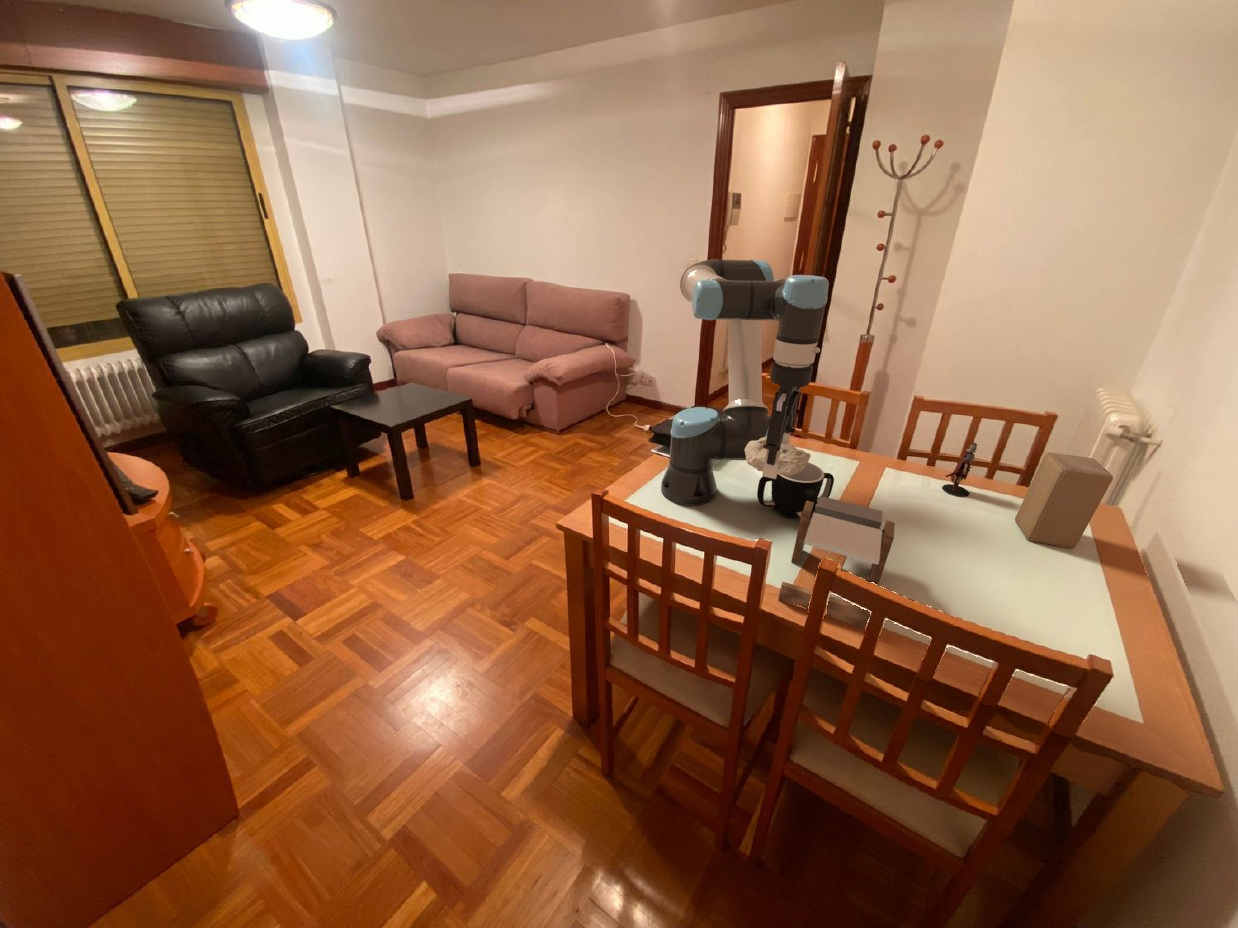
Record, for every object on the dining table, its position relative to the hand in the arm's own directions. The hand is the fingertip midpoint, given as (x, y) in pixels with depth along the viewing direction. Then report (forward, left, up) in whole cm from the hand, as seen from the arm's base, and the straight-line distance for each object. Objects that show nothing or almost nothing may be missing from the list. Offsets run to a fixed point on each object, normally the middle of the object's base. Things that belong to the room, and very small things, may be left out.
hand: (774, 468), depth 105 cm
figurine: (+42, +54, -22) cm, 72 cm away
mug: (+3, +21, -22) cm, 31 cm away
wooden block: (+60, +40, -22) cm, 75 cm away
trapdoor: (+16, 0, -12) cm, 20 cm away
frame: (+16, -5, -22) cm, 27 cm away
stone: (-1, 0, -1) cm, 1 cm away
